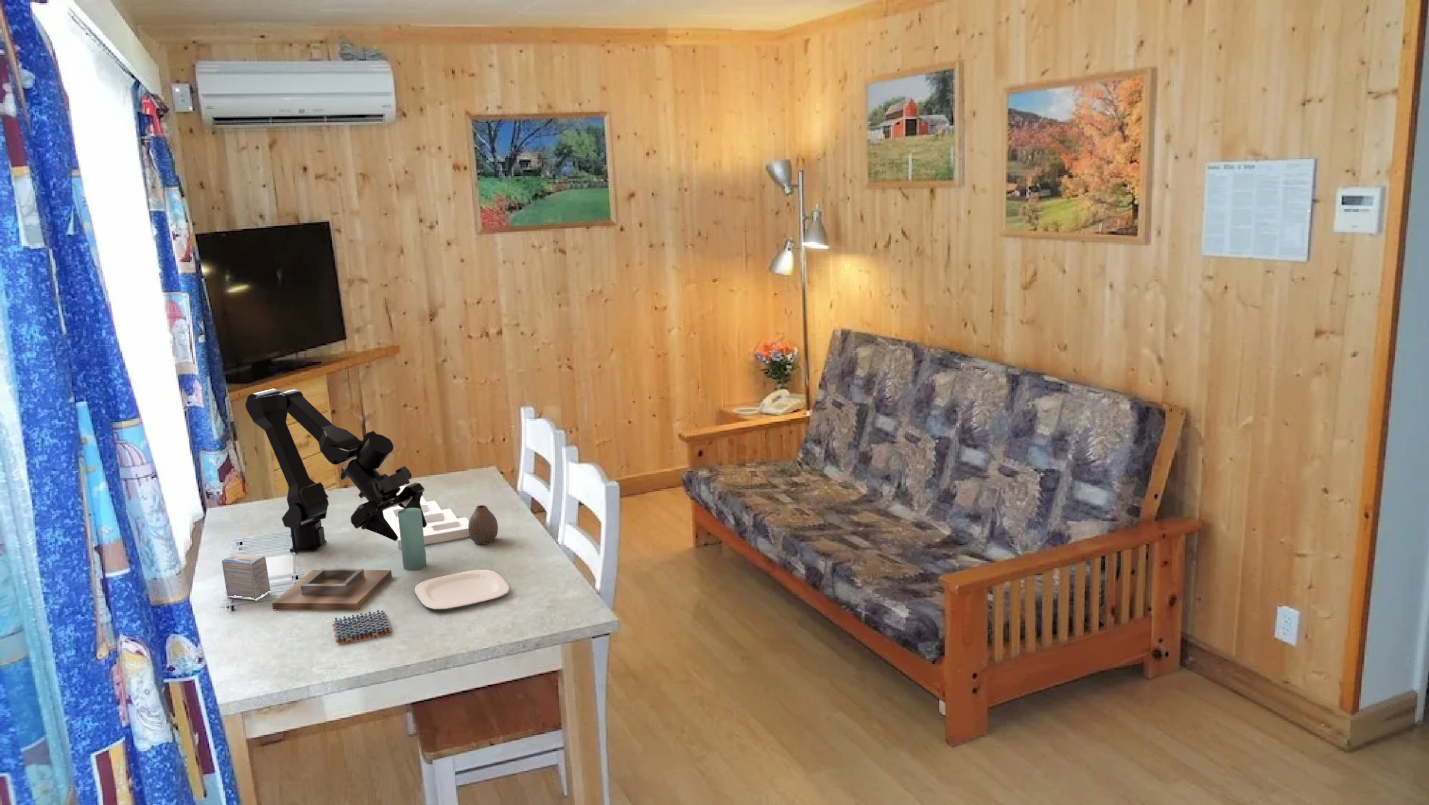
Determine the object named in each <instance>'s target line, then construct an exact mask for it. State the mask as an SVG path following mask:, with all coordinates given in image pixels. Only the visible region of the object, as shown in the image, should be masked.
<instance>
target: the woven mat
mask: <svg viewBox="0 0 1429 805" xmlns="http://www.w3.org/2000/svg"><path fill="white" fill-rule="evenodd" d="M387 616H388V614H387V613H386V611H385V610H381V611H380V610H379V609H376V611H373V612H371V610H370V611H368V614H367V613H364V614H363V612H360V615H358V614H357V615H356V616H355V615H354V614H352V615H351V616H346V615H344V616H343V619H342V618H341V617H339V619H338V618H337V617H334V621H333V623H332V627H334V628H333V631H334V632H335V633H334V638H336V639H335V640H334V641H335V642H336V643H337V646H338V645H344V644H350V643H354V642H355V643H356V642H359V641H364V640H370V639H374V638H375V639H376V638H379V637H384V636H390V635H392V634H393V632H392V631H393V630H392V626H391V625H390V621H389V618H388V617H387Z"/></svg>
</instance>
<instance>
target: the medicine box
mask: <svg viewBox="0 0 1429 805" xmlns="http://www.w3.org/2000/svg"><path fill="white" fill-rule="evenodd" d="M221 565H222V570H223V572H222V573H223V576H224V578H223V579H224V584H225V591H226V597H227V596H234V595H236V596H242V597H251V598H254V599H256V598H258V597H260V596H261V595H262V594H265V593H266V592H268V591H271V586H270V579H269V578H270V577H269V572H268V566H267V559H266V556H264V555H258V554H250V553H249V554H247V553H234V554H232V555H230V556H228V557H225V558H223V560H221ZM271 592H272V591H271Z"/></svg>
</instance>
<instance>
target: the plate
mask: <svg viewBox="0 0 1429 805" xmlns="http://www.w3.org/2000/svg"><path fill="white" fill-rule="evenodd" d="M510 589H511V588H510V586H509V584H508V583H507V582H506V580H505V579H504V578H503V577H502V575H500V574H498V573H497V572H496V571H493V570H490V569H474V570H473V569H472V570H467V571H462V572H456V573H451V574H447V575H446V574H445V575H442V576H438V577H434V578H429V579H425V580H424V581H422V582H418V584H417V585H416V586H415V588H414V592H415V596H416V597H417V598H418V600H419V602H420V603H421V604H422V605H423V606H424V607H425V608H427V609H429V610H433V611H447V610H453V609H460V608H466V607H468V606H469V607H470V606H474V605H479V604H482V603H486V602H490V601H496V600H497V599H500V598H502V597H504V596H506V595H508V593H509V592H510Z"/></svg>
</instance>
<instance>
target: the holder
mask: <svg viewBox="0 0 1429 805" xmlns="http://www.w3.org/2000/svg"><path fill="white" fill-rule="evenodd" d="M406 486H407V485H403V486H401V487H400V488H401V490H400V491H399V492H398V493H397V494H396V495H399V494H400V493H401V492H402V490H403V489H404V488H405V487H406ZM420 504H421V509H422V512H423V514H424V517H425V520H426V523H427V526H426V527H425V528H423V534H424V544H425V546H426V545H430V544H436V543H441V542H448V541H453V540H454V539H455V540H458V539H457V538H460V539H464V537H466V538H469V537H468V536H470V535H469V530H468V524H469V520H470V519H469V518H467V516H464V517H459V518H458V517H457V516H456V515H455V513H454V512H453V510H452V509H451V508H447V509H446V508H444V509H441V507H440V506H439V504H438V503H437V502H436V500H431V501H426V499H425V498H424V496H422V497H421V499H420ZM403 509H404V508H402V507H400V506H399V505H395V506H393V507H391V508H388V509H386V510H384V511H383V515H384V518H385V520H386V521H387V522H388V524H389V525H390V526H391V528H392V529H393V530H394V531H395V533H396V535H397V536H398V539H397V541H394V543H395V545H396V547H397V549H398V550H402V548H401V538H400V529H399V519H398V512H399V511H400V510H403Z"/></svg>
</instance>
